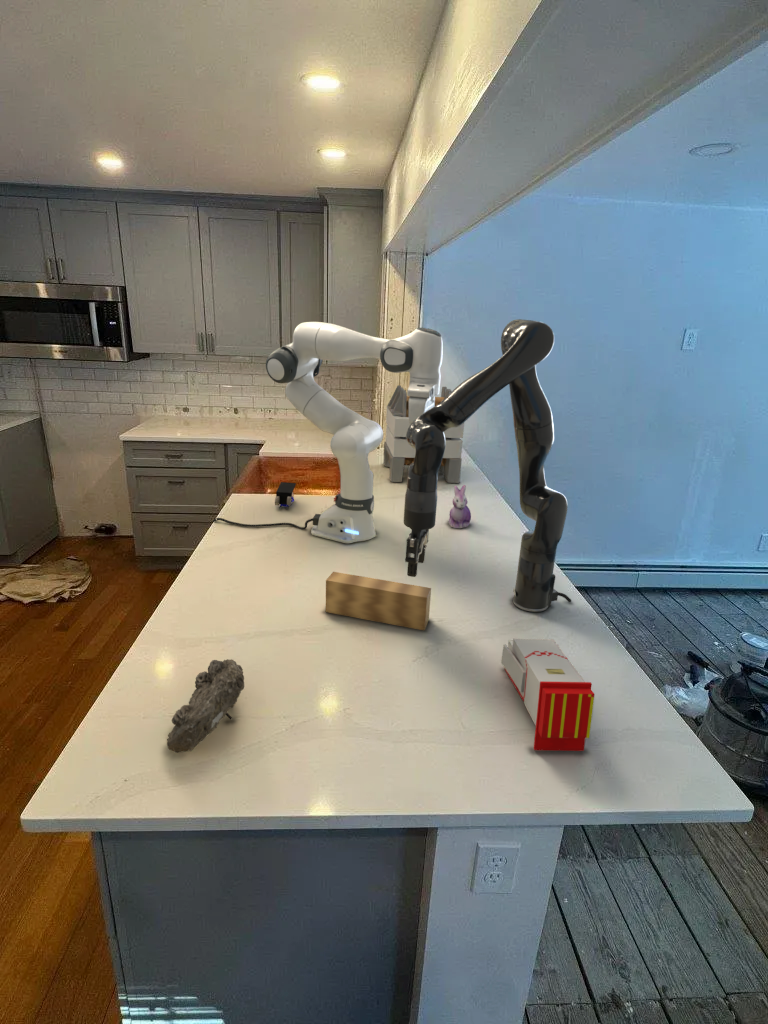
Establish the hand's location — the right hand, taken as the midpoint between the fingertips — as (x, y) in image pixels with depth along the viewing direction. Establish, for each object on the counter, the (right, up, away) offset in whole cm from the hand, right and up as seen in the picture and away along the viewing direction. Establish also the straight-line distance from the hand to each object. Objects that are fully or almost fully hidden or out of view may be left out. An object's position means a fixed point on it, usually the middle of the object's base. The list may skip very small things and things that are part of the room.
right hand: (415, 568), depth 139 cm
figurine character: (-47, +16, +84) cm, 98 cm away
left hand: (+3, +37, +29) cm, 47 cm away
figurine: (+20, +9, +72) cm, 76 cm away
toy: (+24, -25, -22) cm, 41 cm away
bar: (-10, -13, +7) cm, 18 cm away
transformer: (+9, +33, +136) cm, 141 cm away
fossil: (-41, -25, -31) cm, 57 cm away
